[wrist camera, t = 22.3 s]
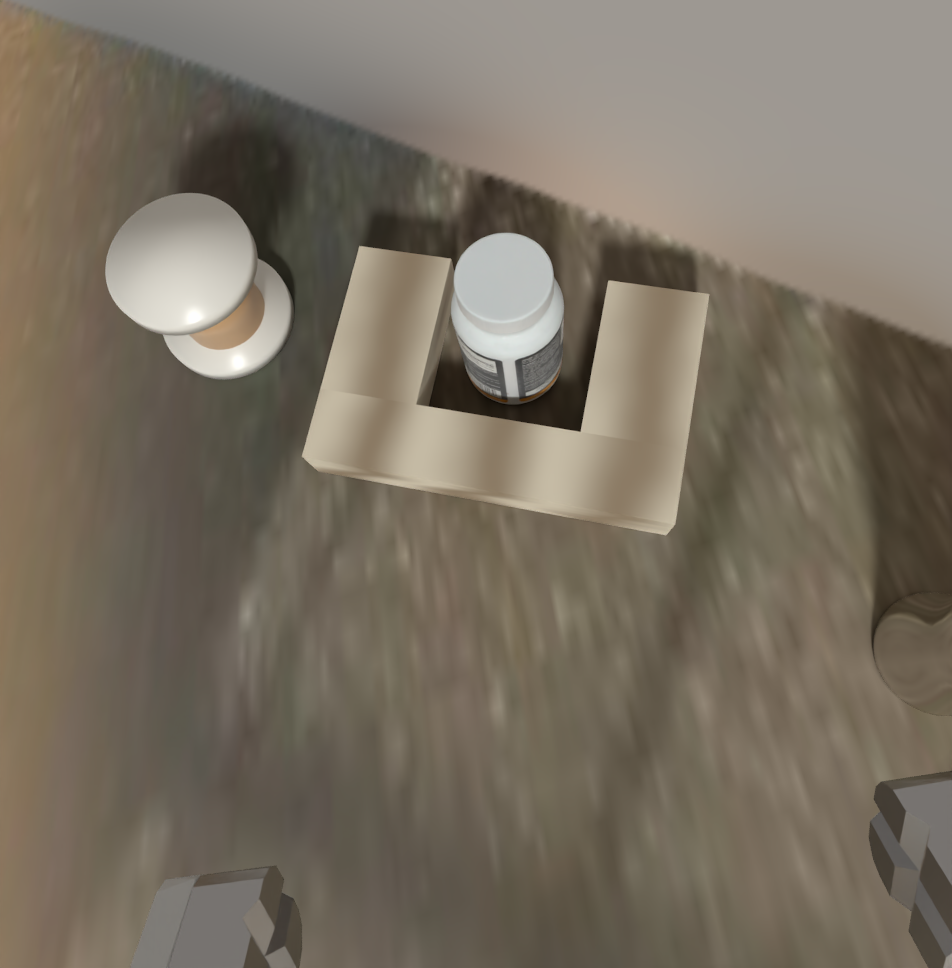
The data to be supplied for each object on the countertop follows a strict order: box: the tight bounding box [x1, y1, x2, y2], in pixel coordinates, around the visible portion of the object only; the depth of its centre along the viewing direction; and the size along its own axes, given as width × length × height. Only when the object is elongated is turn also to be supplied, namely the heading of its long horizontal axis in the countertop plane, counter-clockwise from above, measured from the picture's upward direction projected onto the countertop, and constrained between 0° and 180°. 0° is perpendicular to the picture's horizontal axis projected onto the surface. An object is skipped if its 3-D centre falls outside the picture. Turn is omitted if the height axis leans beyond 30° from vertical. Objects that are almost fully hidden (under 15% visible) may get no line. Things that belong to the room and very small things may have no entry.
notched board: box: [302, 246, 709, 535], centre depth 42 cm, size 20×13×3 cm, turn 79°
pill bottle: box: [451, 233, 564, 404], centre depth 39 cm, size 6×6×10 cm
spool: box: [105, 193, 294, 380], centre depth 43 cm, size 8×8×7 cm
